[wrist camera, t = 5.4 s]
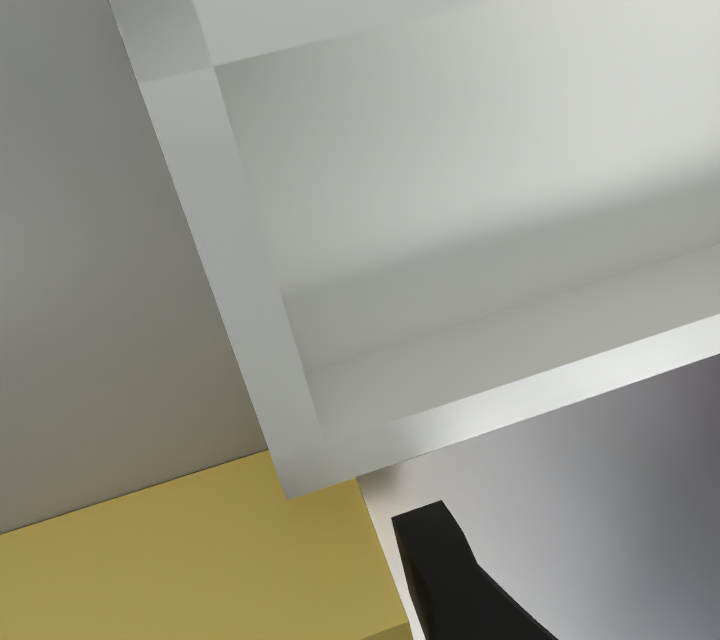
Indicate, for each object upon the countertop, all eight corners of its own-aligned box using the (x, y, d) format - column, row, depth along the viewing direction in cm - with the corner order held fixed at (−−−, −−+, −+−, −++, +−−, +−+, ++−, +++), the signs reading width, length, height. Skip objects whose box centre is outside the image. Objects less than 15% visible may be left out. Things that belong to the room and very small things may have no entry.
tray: (776, 241, 11) (909, 288, 9) (267, 403, 10) (286, 500, 8) (831, -147, 8) (1041, -206, 6) (131, 9, 7) (107, -2, 5)
